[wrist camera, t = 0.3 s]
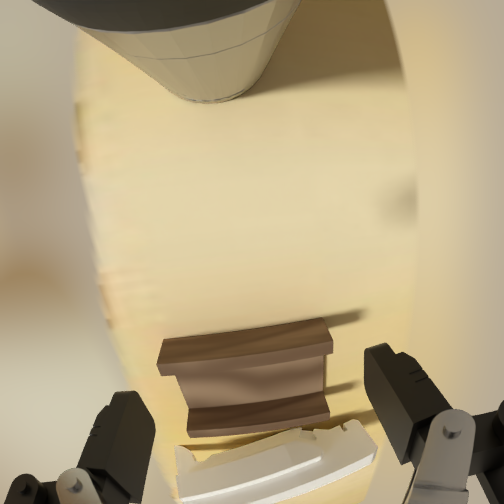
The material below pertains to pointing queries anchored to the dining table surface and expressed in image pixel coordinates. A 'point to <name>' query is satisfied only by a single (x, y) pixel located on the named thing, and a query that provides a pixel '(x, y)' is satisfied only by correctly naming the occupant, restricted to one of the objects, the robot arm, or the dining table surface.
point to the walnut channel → (251, 378)
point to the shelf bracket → (274, 466)
